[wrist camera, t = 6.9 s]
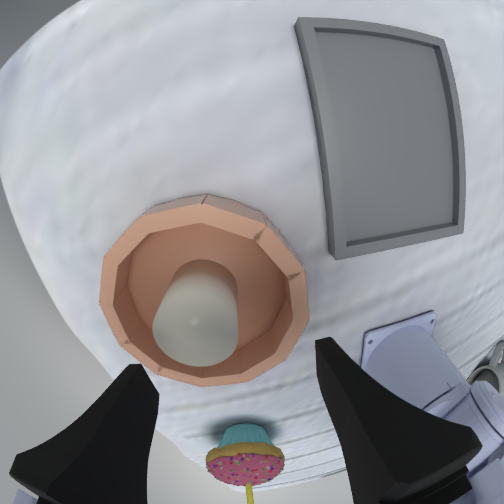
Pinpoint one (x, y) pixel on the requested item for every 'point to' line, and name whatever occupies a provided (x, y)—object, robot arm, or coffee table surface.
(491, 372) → the ceramic mug
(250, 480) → the cupcake
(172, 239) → the terracotta bowl
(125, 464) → the robot arm
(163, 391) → the coffee table surface
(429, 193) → the parts tray
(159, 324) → the smooth grey cylinder
